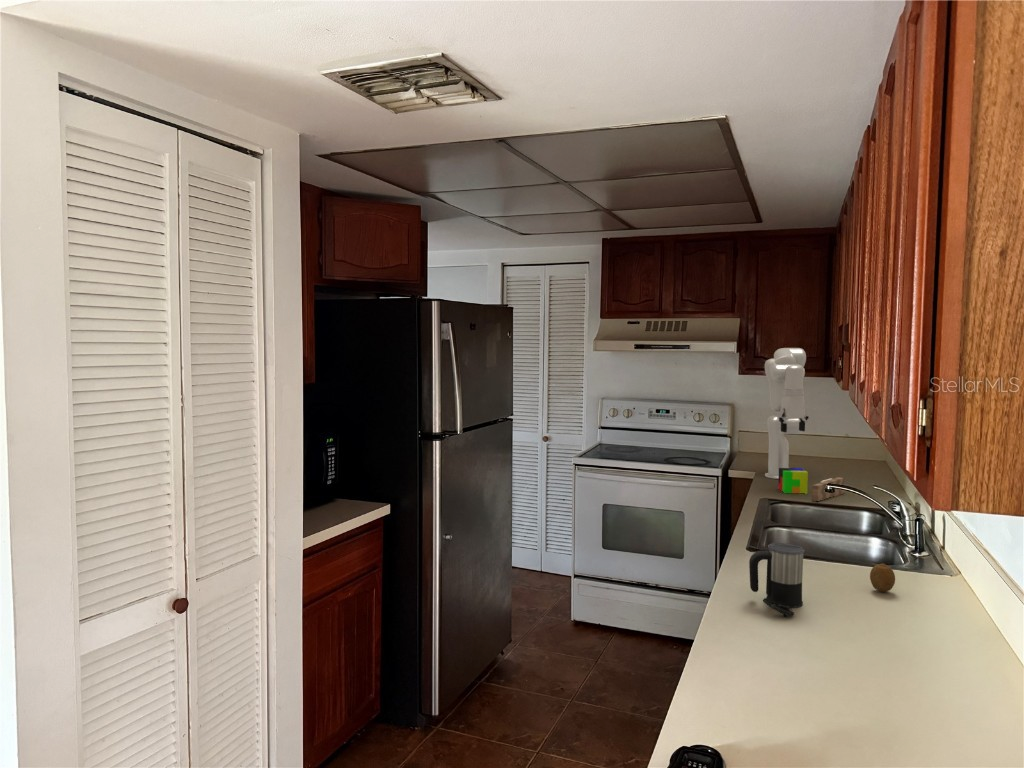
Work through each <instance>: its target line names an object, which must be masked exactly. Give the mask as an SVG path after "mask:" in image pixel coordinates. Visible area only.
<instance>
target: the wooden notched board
mask: <svg viewBox="0 0 1024 768" xmlns="http://www.w3.org/2000/svg"><path fill="white" fill-rule="evenodd" d="M828 483H831V484H840V485H845V477H840V476H837V477H834V478H828V479H824V480H821V481H820V482H819V483H815V484H812V487H811V502H813V501H819V500H823V499H826V498H829V497H831V498H834V497H837V496H840V495H843V494H844V492H845V491H844V490H845V489H844V490H841V489H835V492H834V493H827V492H825V490H824V488H825V486H826V484H828ZM833 496H834V497H833ZM829 499H830V498H829ZM826 500H827V499H826ZM823 501H824V500H823Z"/></svg>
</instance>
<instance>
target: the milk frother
mask: <svg viewBox="0 0 1024 768" xmlns="http://www.w3.org/2000/svg"><path fill="white" fill-rule="evenodd" d="M767 547H768V549H769V550H758V551H755V552H753V553H752V554H751V556H750V558H749V562H748V563H749V569H748V570H749V587H750V590H751V591H752V593H753V592H754V593H757V592H758V591H759V564H760V561H762V560H765V561H766V560H767V562H766V563H767V564H766V582H765V583H766V587H765V594H766V597H765V598H763V600H762V602H763V603H764V604H765V605H766V606H768V607H770V608H771V609H774V610H775V611H776V612H778V613H780V615H781V614H782V615H783V616H784V617H787V616H794V615H795V610H793V608H798V607H799V608H800V607H802V606H803V605H804V602H803V573H804V571H803V570H804V569H803V568H804V552H805V548H804V547H802V546H801V545H800V546H799V545H797V544H792V543H784V542H776V543H775V542H773V543H769V544H768V545H767Z"/></svg>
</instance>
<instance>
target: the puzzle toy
mask: <svg viewBox="0 0 1024 768" xmlns="http://www.w3.org/2000/svg"><path fill="white" fill-rule="evenodd" d="M808 478H809V472H808V471H806V470H805V469H803V468H799V467H788V468H779V479H778V488H779V489H780V490H781V491H780V490H779V489H778V490H779V491H780V492H782V491H783V492H784V493H805V494H804V495H808V489H809V487H808V485H809V484H808V483H809V481H808V480H809V479H808ZM783 492H782V493H783ZM784 493H783V494H784Z"/></svg>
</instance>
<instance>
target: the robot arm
mask: <svg viewBox="0 0 1024 768" xmlns="http://www.w3.org/2000/svg"><path fill="white" fill-rule="evenodd" d="M806 362H807V354H806V351H805V350H804V349H803V348H802V347H801V348H800V347H783V348H778V349H777V350H775V352H774V353H773V358H769V359H767V360H765V363H764V373H765V376H766V379H767V381H768V385H769V406H770V410H771V411H772V412H774V413H775V414H773V415H770V416H768V418H767V421H766V422H767V423H766V424H767V432H768V458H767V459H768V465H767V468H768V469H767V470H768V471H767V472H765V473H764V477H765V478H769V479H774V480H776V479H777V480H779V468H789V457H790V456H789V455H790V451H789V450H790V449H789V448H790V443H789V441H788V439H787V437H785V435H801V434H803V433H804V432H805V431H806V423H807V422H808V420H809V417H810V415H811V412H810V411H809V410H807V409H806V402H805V397H804V394H805V390H804V378H805V374H806V371H805V368H804V367H805V364H806Z"/></svg>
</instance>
